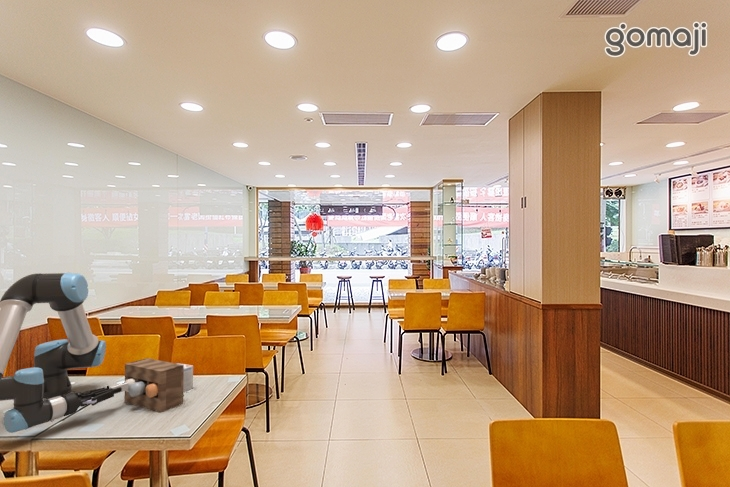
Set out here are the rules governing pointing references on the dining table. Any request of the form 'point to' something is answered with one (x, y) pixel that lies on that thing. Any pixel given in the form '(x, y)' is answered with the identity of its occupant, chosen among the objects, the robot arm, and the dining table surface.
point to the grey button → (137, 388)
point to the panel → (160, 373)
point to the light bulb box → (187, 377)
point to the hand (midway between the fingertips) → (127, 386)
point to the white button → (133, 381)
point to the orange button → (152, 390)
